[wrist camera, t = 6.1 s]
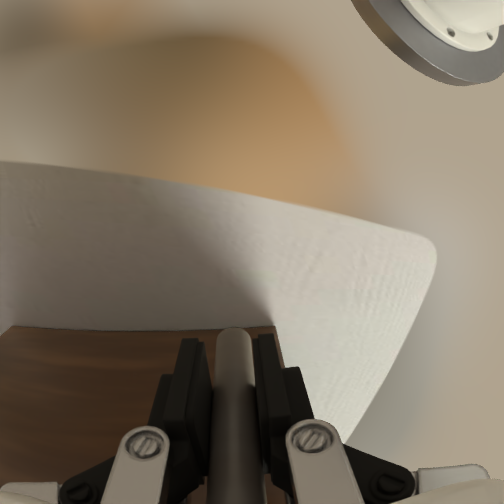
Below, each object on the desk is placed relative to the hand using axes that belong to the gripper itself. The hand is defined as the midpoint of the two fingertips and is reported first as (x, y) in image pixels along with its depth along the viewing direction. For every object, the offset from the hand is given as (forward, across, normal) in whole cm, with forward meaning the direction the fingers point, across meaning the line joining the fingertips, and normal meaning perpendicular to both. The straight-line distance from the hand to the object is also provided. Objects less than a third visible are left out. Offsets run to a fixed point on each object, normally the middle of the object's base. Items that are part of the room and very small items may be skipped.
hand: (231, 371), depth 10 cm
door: (+13, +10, +4) cm, 17 cm away
